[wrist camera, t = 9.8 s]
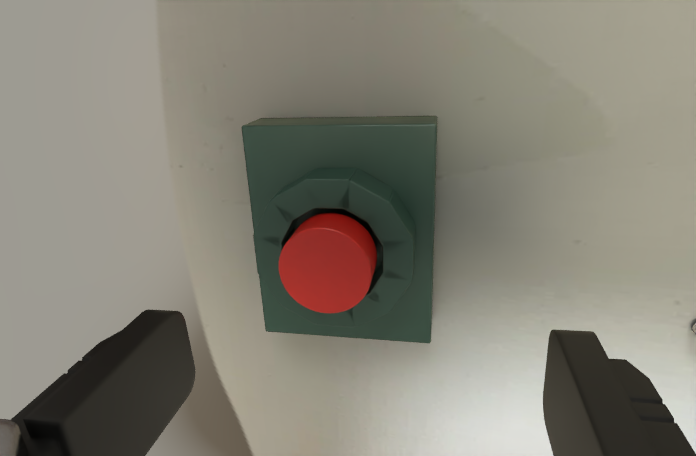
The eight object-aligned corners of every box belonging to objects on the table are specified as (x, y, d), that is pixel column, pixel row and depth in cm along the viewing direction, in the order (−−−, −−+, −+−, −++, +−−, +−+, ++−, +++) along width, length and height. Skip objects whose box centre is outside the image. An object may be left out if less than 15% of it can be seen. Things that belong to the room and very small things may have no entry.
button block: (259, 118, 22) (221, 133, 18) (437, 115, 20) (436, 131, 16) (279, 308, 25) (251, 354, 22) (431, 318, 24) (429, 369, 20)
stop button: (287, 210, 19) (273, 226, 17) (376, 213, 18) (370, 229, 17) (294, 290, 20) (282, 311, 19) (378, 294, 20) (372, 316, 18)
